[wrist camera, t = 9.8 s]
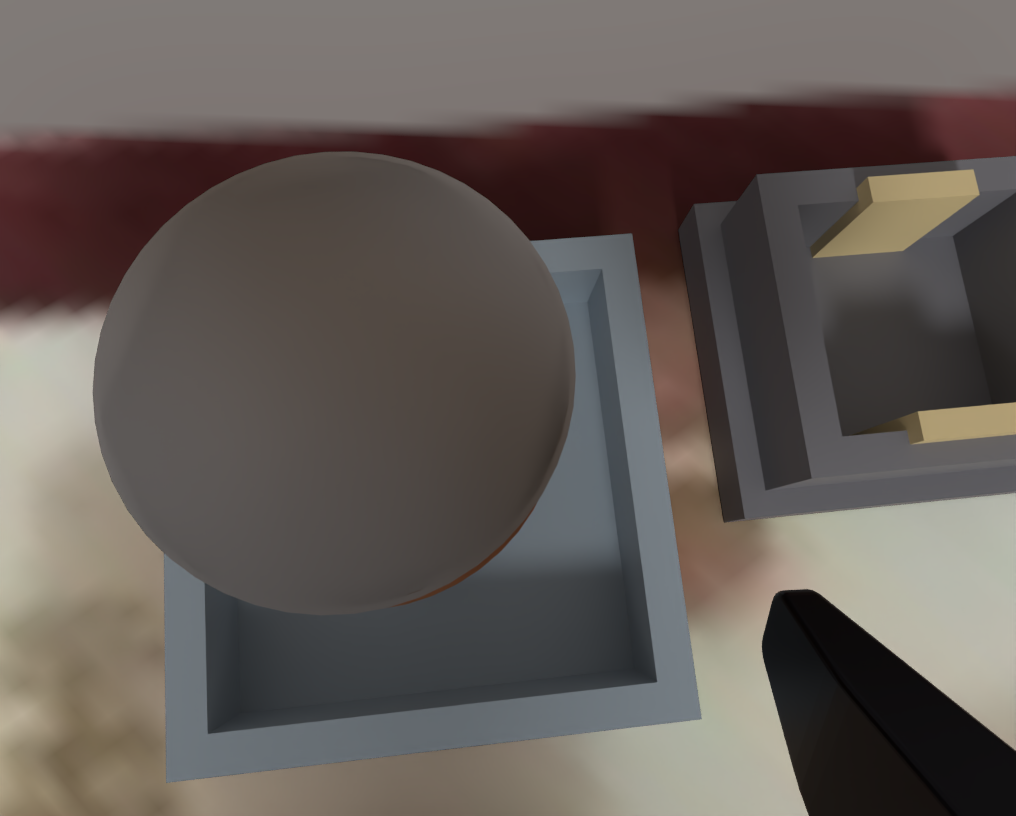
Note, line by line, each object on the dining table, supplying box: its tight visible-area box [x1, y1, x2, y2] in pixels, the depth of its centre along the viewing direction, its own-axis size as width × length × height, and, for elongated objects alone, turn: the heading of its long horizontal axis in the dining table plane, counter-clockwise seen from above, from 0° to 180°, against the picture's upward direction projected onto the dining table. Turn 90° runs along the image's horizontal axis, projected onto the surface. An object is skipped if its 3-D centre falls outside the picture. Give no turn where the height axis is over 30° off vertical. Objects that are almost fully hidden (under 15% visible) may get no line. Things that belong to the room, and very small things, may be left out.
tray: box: [164, 234, 702, 783], centre depth 18 cm, size 11×11×3 cm
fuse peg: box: [93, 152, 576, 615], centre depth 12 cm, size 4×4×12 cm
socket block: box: [678, 156, 1016, 522], centre depth 18 cm, size 8×8×4 cm
